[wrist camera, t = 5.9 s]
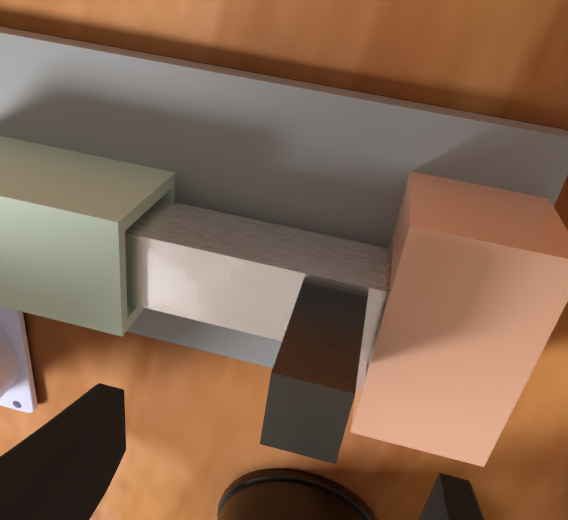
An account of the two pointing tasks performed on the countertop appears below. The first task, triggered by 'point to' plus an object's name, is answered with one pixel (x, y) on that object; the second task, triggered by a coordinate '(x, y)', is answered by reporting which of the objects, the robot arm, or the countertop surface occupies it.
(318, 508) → the french press
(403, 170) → the base board
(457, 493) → the robot arm
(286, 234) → the sliding bolt
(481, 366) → the socket block
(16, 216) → the outer sleeve
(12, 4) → the countertop surface
